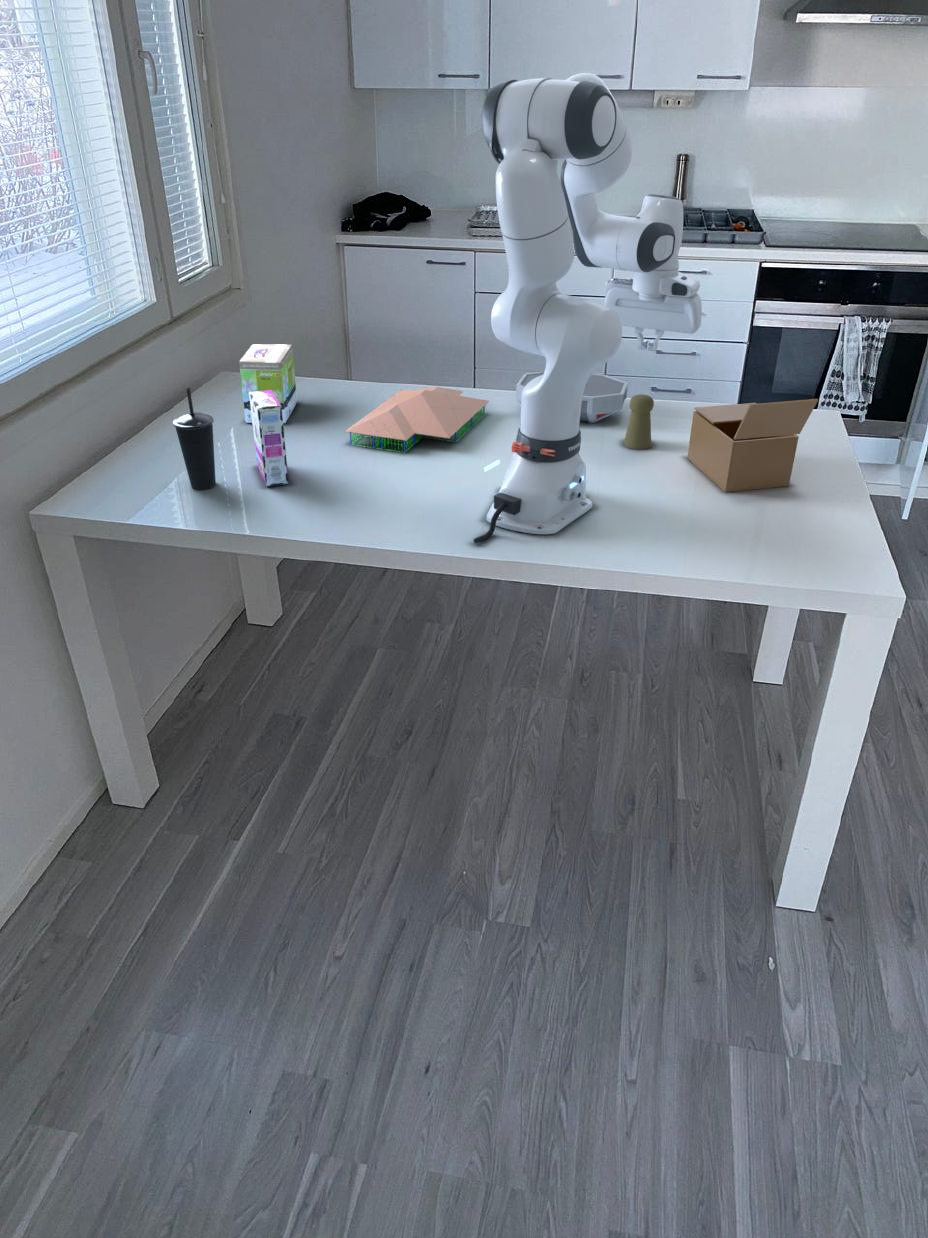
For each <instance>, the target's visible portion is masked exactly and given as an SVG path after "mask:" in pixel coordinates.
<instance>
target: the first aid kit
mask: <svg viewBox="0 0 928 1238" xmlns="http://www.w3.org/2000/svg"><path fill="white" fill-rule="evenodd" d="M544 371H545V370H544ZM544 371H536V372H526V373H525V372H524V374H523V375H522V376H521V378H520V379H519V381H518V382H517V383H516V387H515V388H516V389H515V390H516V393H515V401H517V403H519V404H521V394H522V391H523V389H524V387H525V386H526V385H527V384H528V382H530V381H531V380H532V379H534V378H536V377H538V376H541V375H543V374H544ZM628 386H629V382H628V381H625V380H622V379H620V378H616V377H613V376H610V375H607V374H602V373H593V374H592V375H591V377H590V378H589V380H588V382H587V384H586V386H585V389H584V393H583V397H582V404H581V412H580V422H588V423H589V424H590V423H591V424H592V423H593V424H594V423H596V422H599V421H601V420H604V419H605V418H608V417H609V416H611V415H614V414H616V413H619V412H620V411H622V410H623V407H624V403H625V401H626V399H627V396H628Z"/></svg>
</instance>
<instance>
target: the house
mask: <svg viewBox="0 0 928 1238" xmlns="http://www.w3.org/2000/svg"><path fill="white" fill-rule="evenodd" d="M463 393H464V391H463V390H458V389H452V388H447V387H441V386H426V387H424V388H423V389H400V390H399V391H398V392H396V393H395V394H393V395H392V396H390V397H389V398H388V399H386V400H385V401H384V402H382V403H381V404H379V405H378V406H376V407H375V408H374V409H373V410H371V411H370V412H369V413H367V414H366V415H365V416H363V417H362V418H361V419H359V420H358V421H357V422H355V423H354V424H352V425H351V426H349V428H347V429H346V430H345V431H344V433H349V439H350V441H349V442H350V445H351V446H358V447H360V445H359V444H356V442H359V440H362V437H364V438H365V437H366V438H365V440H366V442H367V446H369V440H372V446H369V448H372V449H378V450H383V451H384V450H385V451H390V452H399V453H401V451H400V448H399V447H400V446H403V454H404V453H406V452H407V451H409V450H410V449H411V448H412V447H413V446H414V445H416V444H417V443H418V442H419V441H420V440H421V439H423V438H426V439H434V440H436V438H438V441H439V440H440V441H443V439H445V441H446V442H451V438H452V437H453V436H454V437H455V438H454V440H452V442H453V443H457V442H458V441H459V440H460V439H461V438H462V437H463V436H464V435H466V433H468V431H470V428H473V425H476V424H477V423H478V422H479V421H481V419H482V418H483V417H484V416H485V415H486V413H485V412H486V409H485V408H486V405H487V404H489V402H490V400H488V399H487V400H486V399H481V398H475V397H469V396H463V395H461V394H463ZM478 416H480V417H479V418H478ZM469 423H470V425H469ZM464 429H465V431H464ZM368 438H370V439H368ZM441 438H442V439H441ZM396 440H397V443H396ZM393 441H394V442H393ZM366 442H365V441H363V443H364V444H363V445H362V447H363V448H367V446H366V445H365V443H366ZM399 442H401V443H399ZM389 444H391V446H393V445H397V448H398V449H397V450H398V451H397V450H396V449H394V450H393V449H390V447H389ZM379 445H380V446H379ZM386 446H387V448H388V449H387V448H386Z"/></svg>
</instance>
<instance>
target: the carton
mask: <svg viewBox="0 0 928 1238" xmlns="http://www.w3.org/2000/svg"><path fill="white" fill-rule="evenodd" d="M750 404H758V403H757V402H748V403H747V402H745V403H735V404H734V403H733V404H722V405H709V406H708V405H707V406H697V407H694V409H693V410H694V411H693V412H692V413H693V414H692V419H691V420H692V421H691V429H690V436H689V441H688V450H687V457H686V458H687V460H689V461H690V463H692V464H693V465H694V466H695V467H696V468H697V469H699V470H700V471H701V473H703V474H704V475H705V476H707V478H709V479H710V480H711V481H712V482H713V483H714V484H715V485H717V487H719V488H720V489H721V490H722V491H723V492H724V493H731V492H739V491H751V490H761V489H771V488H780V487H789V486H790V482H791V477H792V472H793V468H794V463H795V457H796V452H797V449H798V443H799V439H800V438H799V437H800V436H799V435H798V434H793V435H782V436H771V437H759V438H748V439H736V440H734V437H735V435H736V433H737V430H738V428H739V426H740V424H741V422H742V420H743V418H744V415H745V413H746V411H747V409H748V407H749V405H750Z"/></svg>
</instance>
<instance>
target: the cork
mask: <svg viewBox="0 0 928 1238" xmlns="http://www.w3.org/2000/svg"><path fill="white" fill-rule="evenodd" d="M628 404H629V409H630V410H631V411H630V415H629V419H628V422H627V423H628V424H627V427H626V432H625V435H624V441H623V446H625V447H626V448H629V449H632V450H647V449H650V448H651V447H652V422H651V417H652V416H651V412H652V411H653V409H654V405H655V401H654V399H653V397H651V396H650V395H648V394H643V393H642V394H641V393H640V394H635V395H633V396H632V397H631V398H630V401H629V403H628Z"/></svg>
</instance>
